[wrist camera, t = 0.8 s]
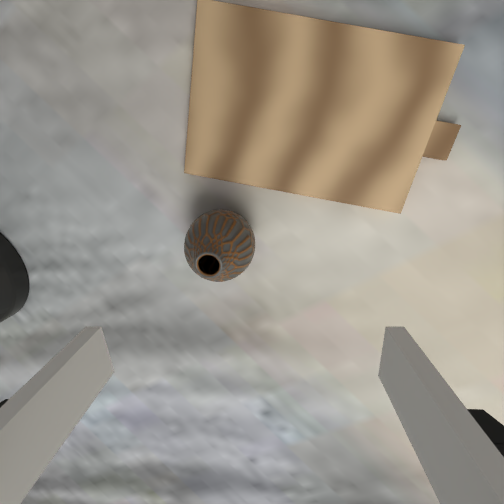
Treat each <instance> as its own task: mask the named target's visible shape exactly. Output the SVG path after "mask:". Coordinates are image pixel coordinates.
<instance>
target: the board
mask: <svg viewBox="0 0 504 504" xmlns="http://www.w3.org/2000/svg"><path fill="white" fill-rule="evenodd" d="M464 46H465V45H462V44H456V43H451V42H445V41H439V40H434V39H428V38H422V37H417V36H411V35H405V34H400V33H394V32H388V31H383V30H377V29H371V28H366V27H360V26H354V25H349V24H343V23H337V22H332V21H326V20H320V19H315V18H309V17H303V16H298V15H292V14H286V13H281V12H275V11H270V10H264V9H258V8H253V7H247V6H241V5H236V4H230V3H224V2H219V1H213V0H197V13H196V26H195V39H194V52H193V65H192V78H191V91H190V104H189V117H188V130H187V143H186V156H185V169H184V173H187V174H192V175H198V176H203V177H208V178H214V179H219V180H224V181H230V182H235V183H240V184H246V185H251V186H256V187H262V188H267V189H272V190H277V191H283V192H288V193H293V194H299V195H304V196H309V197H315V198H320V199H325V200H331V201H336V202H341V203H347V204H352V205H357V206H363V207H368V208H373V209H379V210H384V211H389V212H394V213H400V214H401V211H402V208H403V206H404V203H405V200H406V198H407V195H408V193H409V190H410V187H411V185H412V182H413V179H414V177H415V174H416V172H417V169H418V166H419V164H420V161H421V159H422V156H423V157H428V158H434V159H439V160H447V158H448V156H449V153H450V151H451V148H452V146H453V144H454V141H455V139H456V136H457V134H458V132H459V129H460V127H461V125H458V124H452V123H447V122H441V121H436V119H437V117H438V114H439V111H440V109H441V106H442V104H443V101H444V98H445V96H446V93H447V91H448V88H449V85H450V83H451V80H452V77H453V75H454V72H455V70H456V67H457V64H458V62H459V59H460V57H461V54H462V51H463V49H464Z"/></svg>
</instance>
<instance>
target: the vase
mask: <svg viewBox="0 0 504 504" xmlns="http://www.w3.org/2000/svg"><path fill="white" fill-rule="evenodd" d="M254 251H255V237H254V233H253V231H252V228H251V227H250V225H249V224H248V222H247V221H246V220H245V219H244V218H243V217H242V216H240V215H239V214H237V213H235V212H232V211H229V210H213V211H210V212H207V213H205V214H203V215H201V216H200V217H199V218H197V219H196V220H195V221H194V222H193V223H192V225H191V226H190V228H189V230H188V232H187V234H186V237H185V243H184V252H185V257H186V260H187V262H188V264H189V266H190V267H191V269H192V270H193V271H194V272H195V273H196V274H197V275H199V276H200V277H202V278H204V279H207V280H210V281H215V282H222V281H227V280H231V279H233V278H235V277H237V276H238V275H240V274H241V273H242V272H243V271H244V270H245V269H246V268H247V267H248V266H249V264H250V262H251V261H252V258H253V255H254Z"/></svg>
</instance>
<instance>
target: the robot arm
mask: <svg viewBox="0 0 504 504" xmlns="http://www.w3.org/2000/svg"><path fill="white" fill-rule="evenodd" d="M28 292H29V282H28V276H27V272H26V269H25V267H24V264H23V262H22V260H21V258H20V257H19V255H18V254H17V252H16V251H15V249H14V248H13V247H12V245H11V244H10V243H9V242H8V241H7V240H6V239H5V238H4V237H3V236H2V235H1V234H0V322H2V321H4V320H5V319H7V318H8V317H10V316H12V315H13V314H15V313H17V312H18V311H19V310H20V309H21V308H22V307H23V305H24V304H25V302H26V300H27V297H28ZM113 373H114V368H113V365H112V361H111V358H110V355H109V351H108V348H107V344H106V341H105V338H104V334H103V331H102V328H101V327H85V328H84V329H83V330H82V331H81V332H80V333H79V334H78V335H77V336H76V337H75V338H74V339H73V340H71V341H70V342H69V343H68V344H67V345H66V346H65V347H64V348H63V349H62V350H61V351H60V352H59V353H58V354H57V355H56V356H55V357H53V358H52V359H51V360H50V361H49V362H48V363H47V364H46V365H45V366H44V367H43V368H42V369H41V370H40V371H39V372H38V373H37V374H35V375H34V376H33V377H32V378H31V379H30V380H29V381H28V382H27V383H26V384H25V385H24V386H23V387H22V388H21V389H20V390H19V391H17V392H16V393H15V394H14V395H13V396H12V397H11V398H10V399H5V400H4V401H2V402H1V403H0V504H21V502H22V501H23V499H24V498H25V496H26V495H27V494H28V492H29V491H30V489H31V488H32V487H33V485H34V484H35V482H36V481H37V480H38V478H39V477H40V475H41V474H42V473H43V471H44V470H45V468H46V467H47V466H48V464H49V463H50V461H51V460H52V459H53V457H54V456H55V454H56V453H57V452H58V450H59V449H60V447H61V446H62V445H63V443H64V442H65V440H66V439H67V438H68V436H69V435H70V433H71V432H72V431H73V429H74V428H75V426H76V425H77V423H78V422H79V421H80V419H81V418H82V416H83V415H84V414H85V412H86V411H87V409H88V408H89V407H90V405H91V404H92V402H93V401H94V400H95V398H96V397H97V395H98V394H99V393H100V391H101V390H102V388H103V387H104V386H105V384H106V383H107V381H108V380H109V379H110V377H111V376H112V374H113ZM378 376H379V378H380V380H381V382H382V384H383V386H384V388H385V390H386V392H387V394H388V396H389V398H390V400H391V403H392V405H393V407H394V409H395V411H396V413H397V415H398V417H399V419H400V421H401V423H402V425H403V427H404V429H405V432H406V434H407V436H408V438H409V440H410V442H411V444H412V446H413V448H414V450H415V452H416V454H417V456H418V459H419V461H420V463H421V465H422V467H423V469H424V471H425V473H426V475H427V477H428V479H429V481H430V483H431V485H432V488H433V490H434V492H435V494H436V496H437V498H438V500H439V502H440V504H504V426H503V425H502V424H501V423H500V422H498V421H497V420H496V419H494V418H493V417H492V416H491V415H489V414H488V413H487V412H485V411H484V410H477V409H466V407H465V406H464V405H463V403H462V402H461V401H460V399H459V398H458V397H457V396H456V394H455V393H454V392H453V390H452V389H451V388H450V386H449V385H448V384H447V382H446V381H445V380H444V379H443V377H442V376H441V375H440V373H439V372H438V371H437V369H436V368H435V367H434V365H433V364H432V363H431V362H430V360H429V359H428V358H427V356H426V355H425V354H424V352H423V351H422V350H421V348H420V347H419V346H418V344H417V343H416V342H415V341H414V339H413V338H412V337H411V335H410V334H409V333H408V331H407V330H406V329H405V327H386V329H385V335H384V342H383V348H382V355H381V361H380V368H379V374H378Z"/></svg>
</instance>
